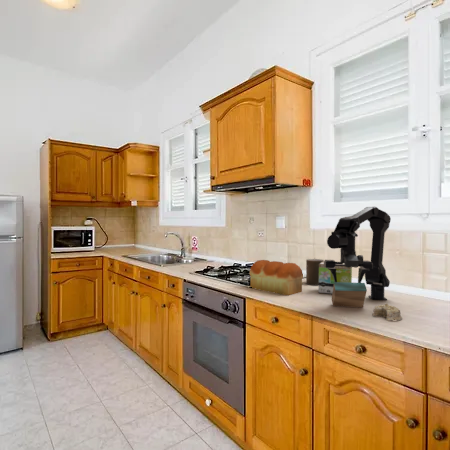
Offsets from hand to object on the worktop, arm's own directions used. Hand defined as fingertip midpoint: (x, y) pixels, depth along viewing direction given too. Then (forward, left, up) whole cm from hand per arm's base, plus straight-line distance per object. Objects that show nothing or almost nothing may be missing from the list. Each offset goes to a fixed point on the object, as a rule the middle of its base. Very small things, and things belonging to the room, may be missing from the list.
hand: (347, 284), depth 134 cm
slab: (-1, 0, -8) cm, 8 cm away
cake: (+14, +11, -10) cm, 20 cm away
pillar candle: (-48, -7, -9) cm, 50 cm away
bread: (-28, -29, -10) cm, 42 cm away
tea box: (-26, 0, -9) cm, 28 cm away
